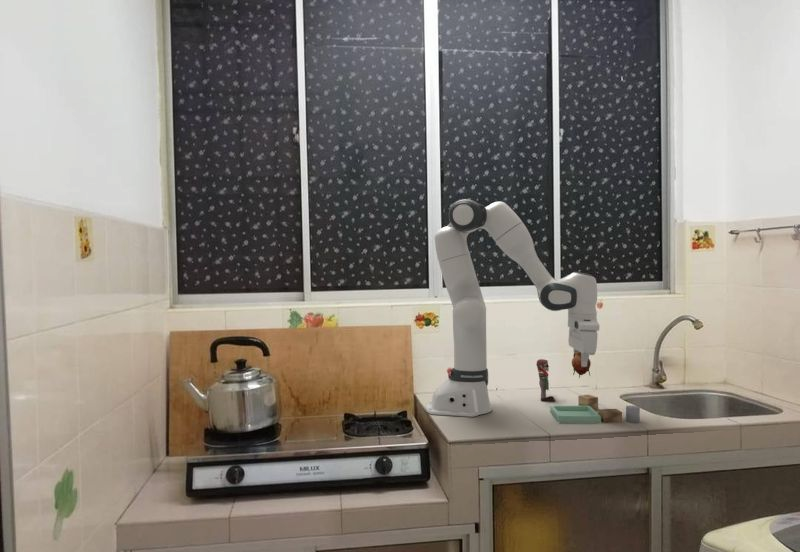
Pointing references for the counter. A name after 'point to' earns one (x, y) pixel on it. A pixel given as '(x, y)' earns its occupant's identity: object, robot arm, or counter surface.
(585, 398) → the oak cube
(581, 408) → the tray
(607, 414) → the walnut block
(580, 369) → the pot
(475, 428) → the counter surface
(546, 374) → the toy
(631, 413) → the blue-grey cube
